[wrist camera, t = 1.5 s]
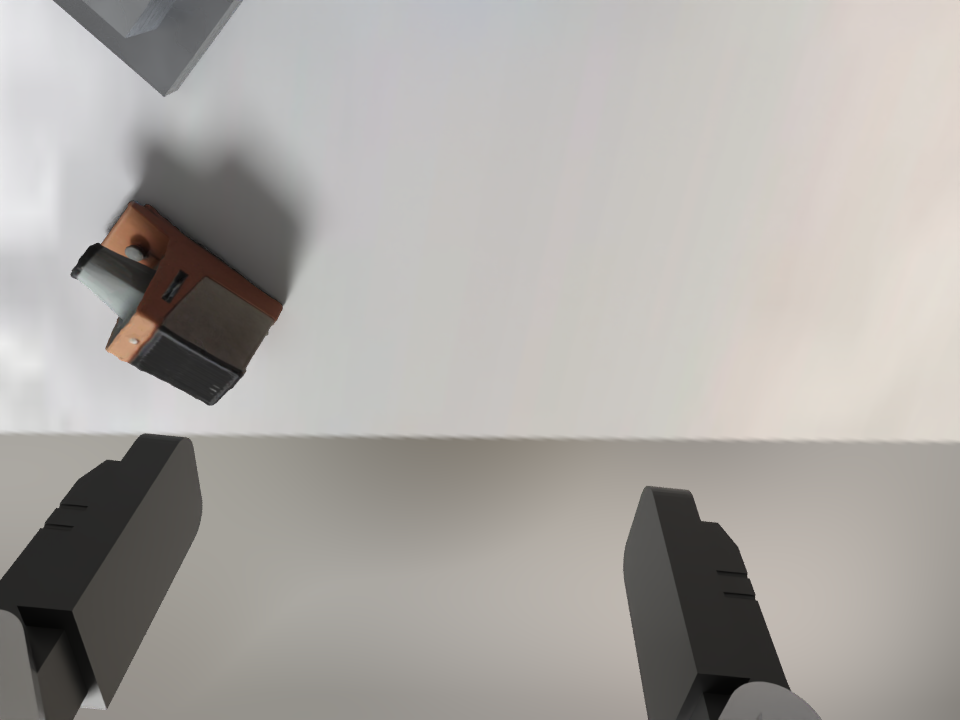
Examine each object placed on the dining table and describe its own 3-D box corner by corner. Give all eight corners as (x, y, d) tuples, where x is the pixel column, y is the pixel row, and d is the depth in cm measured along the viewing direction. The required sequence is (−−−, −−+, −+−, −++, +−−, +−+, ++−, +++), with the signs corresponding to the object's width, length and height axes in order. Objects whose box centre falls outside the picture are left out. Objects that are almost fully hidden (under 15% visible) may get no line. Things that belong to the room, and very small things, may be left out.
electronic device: (140, 191, 36) (65, 249, 30) (289, 303, 40) (250, 376, 34) (101, 246, 38) (23, 311, 32) (247, 349, 42) (202, 426, 35)
